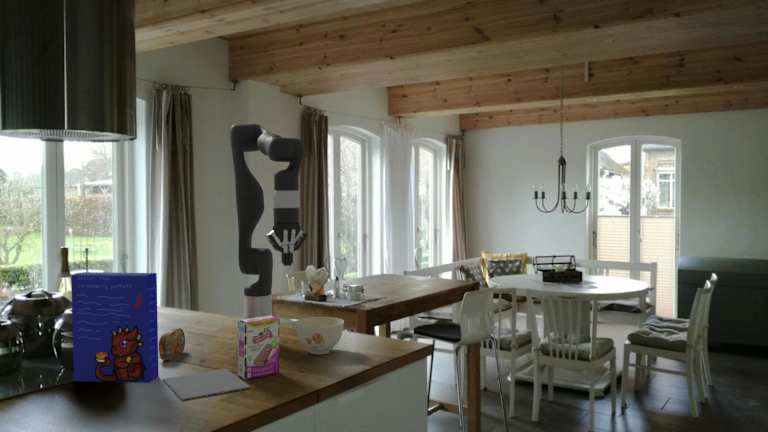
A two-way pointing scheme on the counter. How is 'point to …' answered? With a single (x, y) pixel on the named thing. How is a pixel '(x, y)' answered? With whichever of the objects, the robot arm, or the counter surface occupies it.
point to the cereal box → (115, 327)
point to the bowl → (319, 333)
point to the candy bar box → (258, 347)
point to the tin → (171, 344)
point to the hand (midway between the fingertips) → (287, 265)
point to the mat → (205, 383)
